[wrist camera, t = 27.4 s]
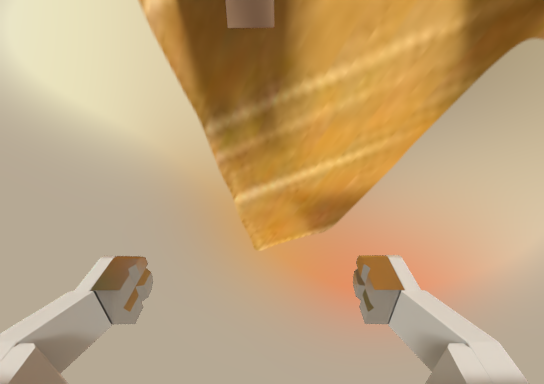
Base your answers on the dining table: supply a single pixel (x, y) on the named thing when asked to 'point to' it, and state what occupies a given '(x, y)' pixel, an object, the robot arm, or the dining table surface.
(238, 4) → the brown bar
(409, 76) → the dining table surface
